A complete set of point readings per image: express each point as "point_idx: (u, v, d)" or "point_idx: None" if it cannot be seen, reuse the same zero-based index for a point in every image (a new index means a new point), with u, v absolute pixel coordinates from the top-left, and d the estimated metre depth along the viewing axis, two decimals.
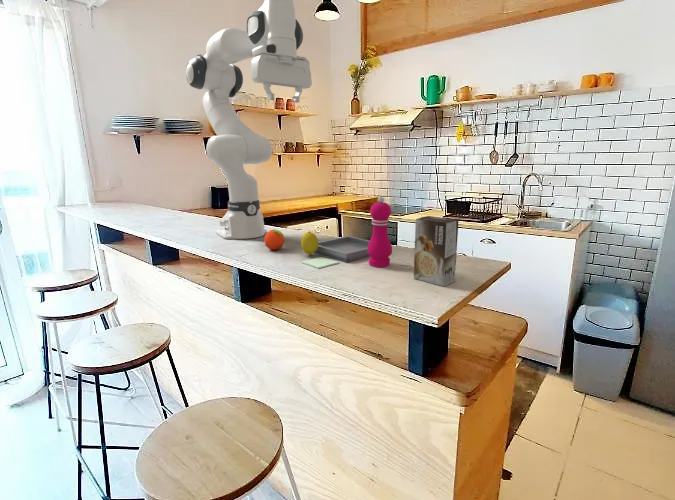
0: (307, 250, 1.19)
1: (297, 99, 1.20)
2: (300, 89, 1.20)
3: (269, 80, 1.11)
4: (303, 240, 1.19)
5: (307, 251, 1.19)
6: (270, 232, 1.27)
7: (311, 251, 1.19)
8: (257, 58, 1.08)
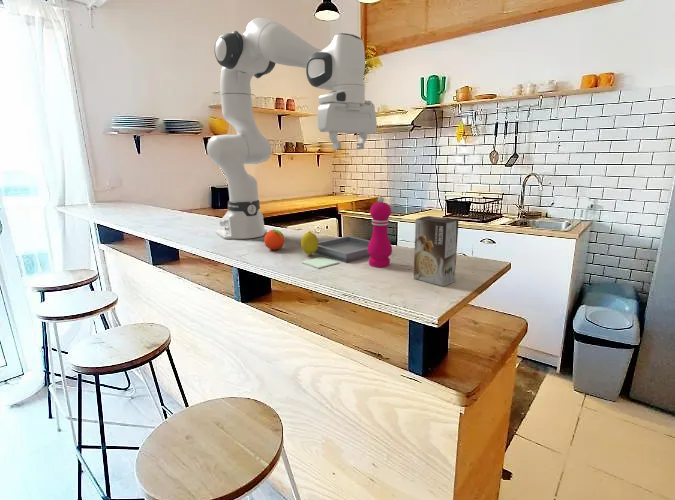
0: (307, 250, 1.19)
1: (362, 146, 1.11)
2: (365, 135, 1.11)
3: (337, 129, 1.02)
4: (303, 240, 1.19)
5: (307, 251, 1.19)
6: (270, 232, 1.27)
7: (311, 251, 1.19)
8: (326, 107, 0.99)
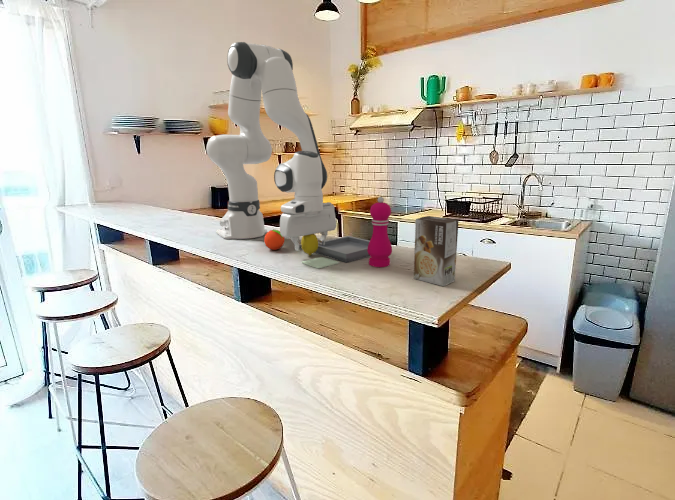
0: (307, 250, 1.19)
1: (322, 243, 1.23)
2: (325, 233, 1.23)
3: (297, 235, 1.14)
4: (303, 240, 1.19)
5: (307, 251, 1.19)
6: (270, 232, 1.27)
7: (311, 251, 1.19)
8: (286, 218, 1.11)
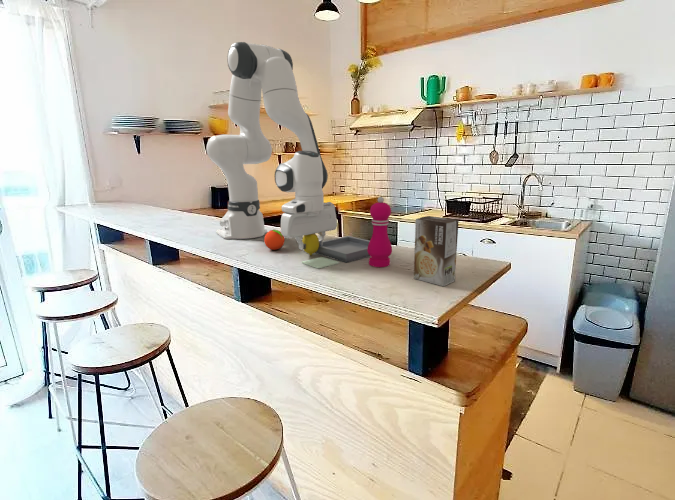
0: (308, 250, 1.19)
1: (320, 243, 1.22)
2: (323, 233, 1.22)
3: (298, 235, 1.14)
4: (304, 240, 1.19)
5: (308, 251, 1.19)
6: (270, 232, 1.27)
7: (312, 251, 1.19)
8: (287, 218, 1.11)
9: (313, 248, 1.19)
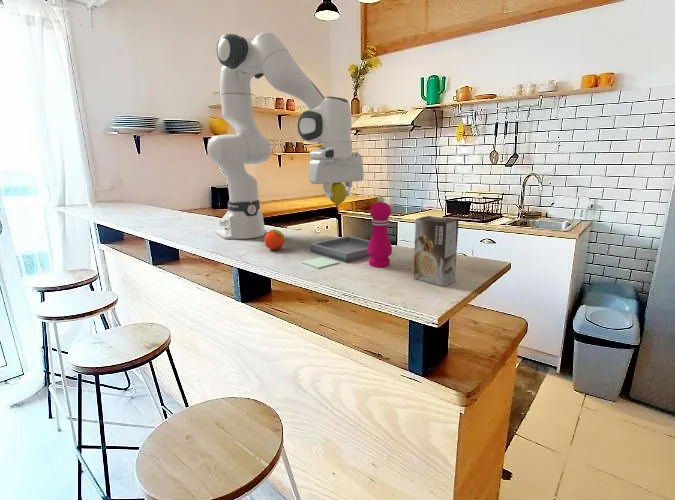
0: (335, 199, 1.18)
1: (347, 194, 1.21)
2: (350, 184, 1.21)
3: (326, 182, 1.13)
4: (331, 189, 1.18)
5: (336, 200, 1.18)
6: (270, 232, 1.27)
7: (340, 200, 1.18)
8: (316, 163, 1.10)
9: (340, 197, 1.18)
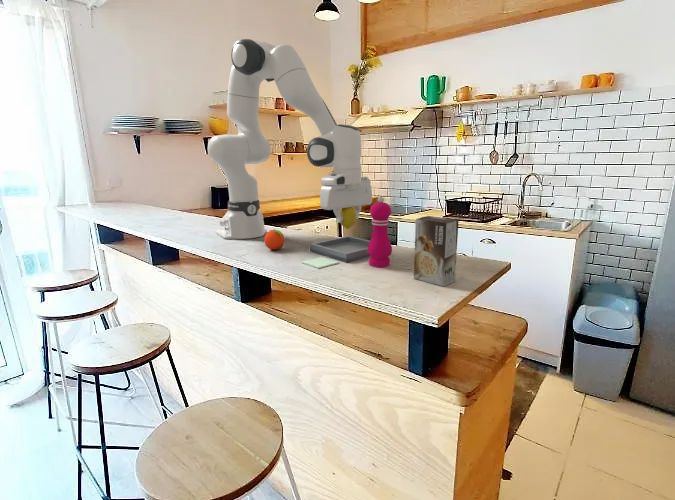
0: (345, 223, 1.21)
1: (356, 217, 1.24)
2: (359, 208, 1.24)
3: (337, 207, 1.17)
4: (342, 213, 1.21)
5: (346, 224, 1.21)
6: (270, 232, 1.27)
7: (350, 224, 1.21)
8: (327, 190, 1.14)
9: (350, 221, 1.21)
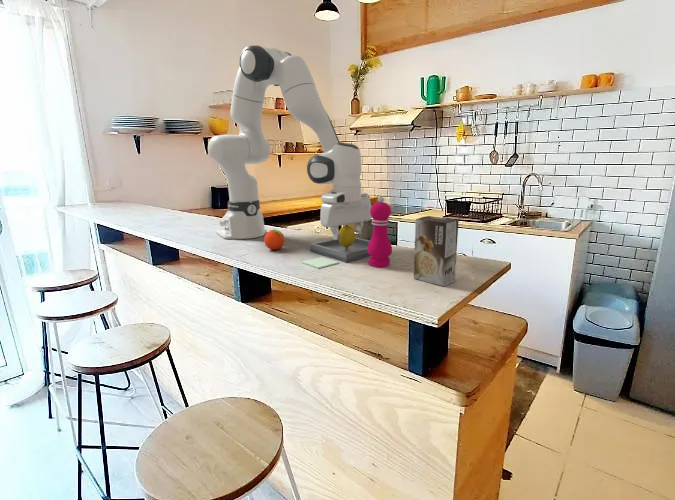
0: (345, 243, 1.23)
1: (359, 233, 1.27)
2: (362, 223, 1.27)
3: (337, 224, 1.18)
4: (341, 233, 1.22)
5: (345, 244, 1.23)
6: (270, 232, 1.27)
7: (349, 244, 1.23)
8: (327, 208, 1.15)
9: (350, 241, 1.23)
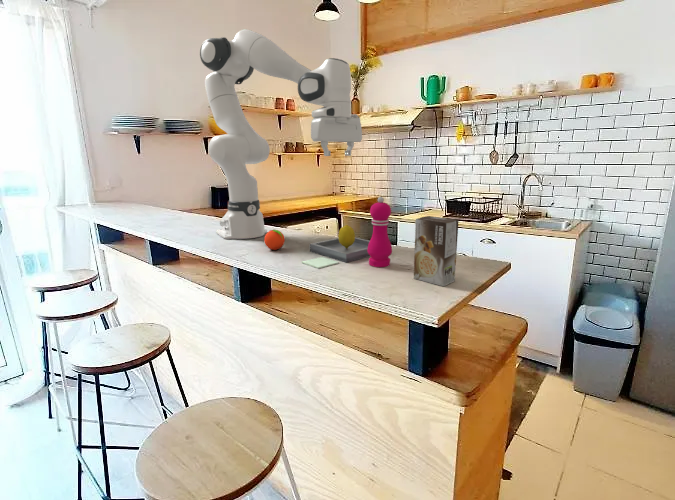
0: (345, 243, 1.23)
1: (349, 153, 1.29)
2: (352, 144, 1.29)
3: (327, 139, 1.21)
4: (341, 233, 1.23)
5: (345, 244, 1.23)
6: (270, 232, 1.27)
7: (349, 244, 1.23)
8: (317, 121, 1.18)
9: (350, 241, 1.23)
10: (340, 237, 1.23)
